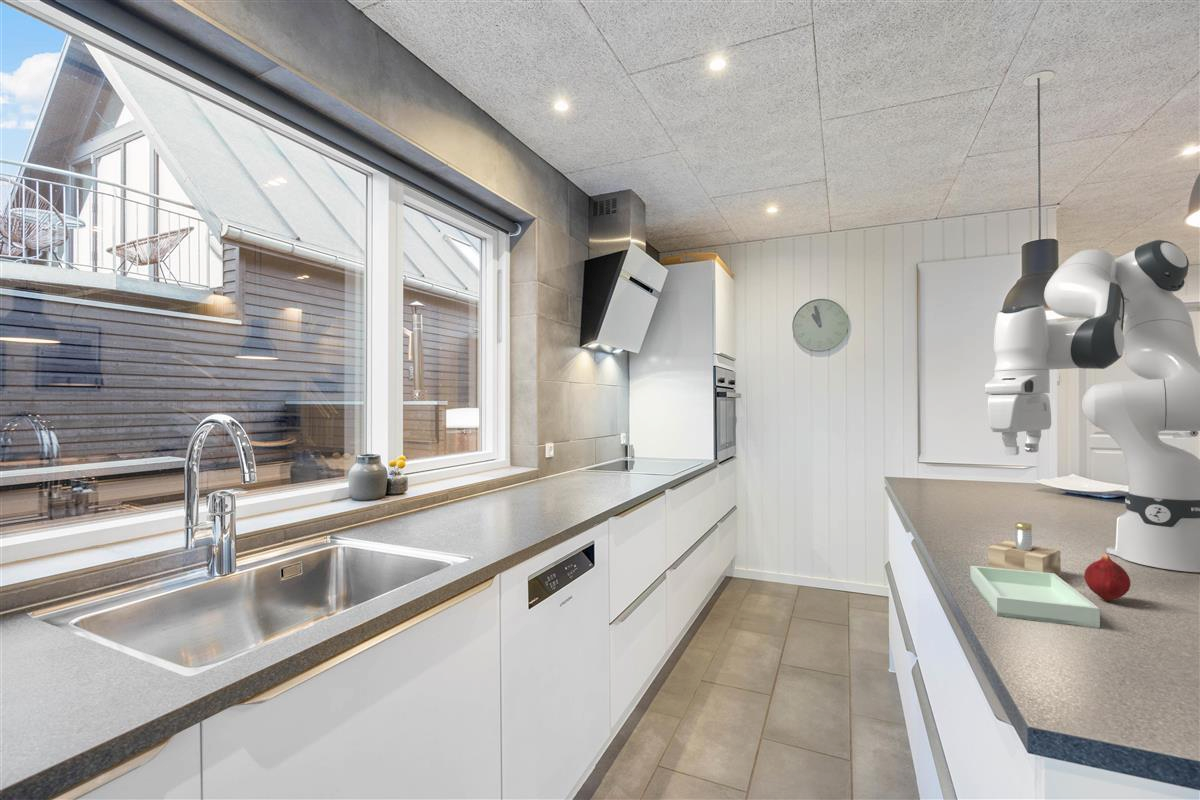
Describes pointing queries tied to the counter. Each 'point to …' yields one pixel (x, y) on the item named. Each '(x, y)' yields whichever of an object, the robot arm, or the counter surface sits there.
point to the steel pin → (1023, 536)
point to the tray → (1033, 596)
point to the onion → (1107, 579)
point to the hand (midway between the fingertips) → (1022, 453)
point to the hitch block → (1024, 558)
